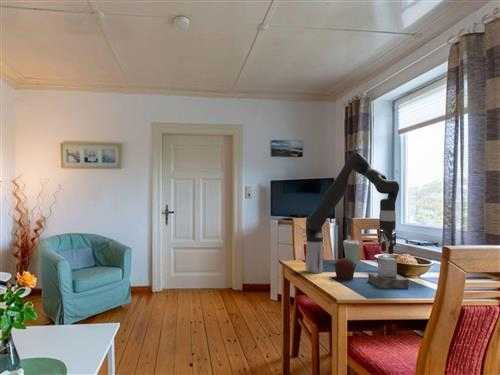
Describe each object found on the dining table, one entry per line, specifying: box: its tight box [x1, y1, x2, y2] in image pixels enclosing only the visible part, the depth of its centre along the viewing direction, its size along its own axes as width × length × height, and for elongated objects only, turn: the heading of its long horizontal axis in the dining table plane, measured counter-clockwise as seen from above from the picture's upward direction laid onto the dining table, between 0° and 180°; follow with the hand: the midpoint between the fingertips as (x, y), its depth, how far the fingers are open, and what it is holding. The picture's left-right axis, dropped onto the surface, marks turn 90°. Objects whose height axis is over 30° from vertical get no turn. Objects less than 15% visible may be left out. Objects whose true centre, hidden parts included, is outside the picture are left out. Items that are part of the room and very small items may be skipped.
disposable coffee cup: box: [342, 239, 360, 265], centre depth 223 cm, size 11×11×15 cm
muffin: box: [333, 257, 357, 281], centre depth 184 cm, size 12×11×10 cm
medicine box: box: [377, 257, 398, 277], centre depth 171 cm, size 8×4×9 cm, turn 91°
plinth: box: [367, 272, 409, 289], centre depth 171 cm, size 14×14×4 cm
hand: (387, 252), depth 170 cm, fingers open, 8 cm apart
